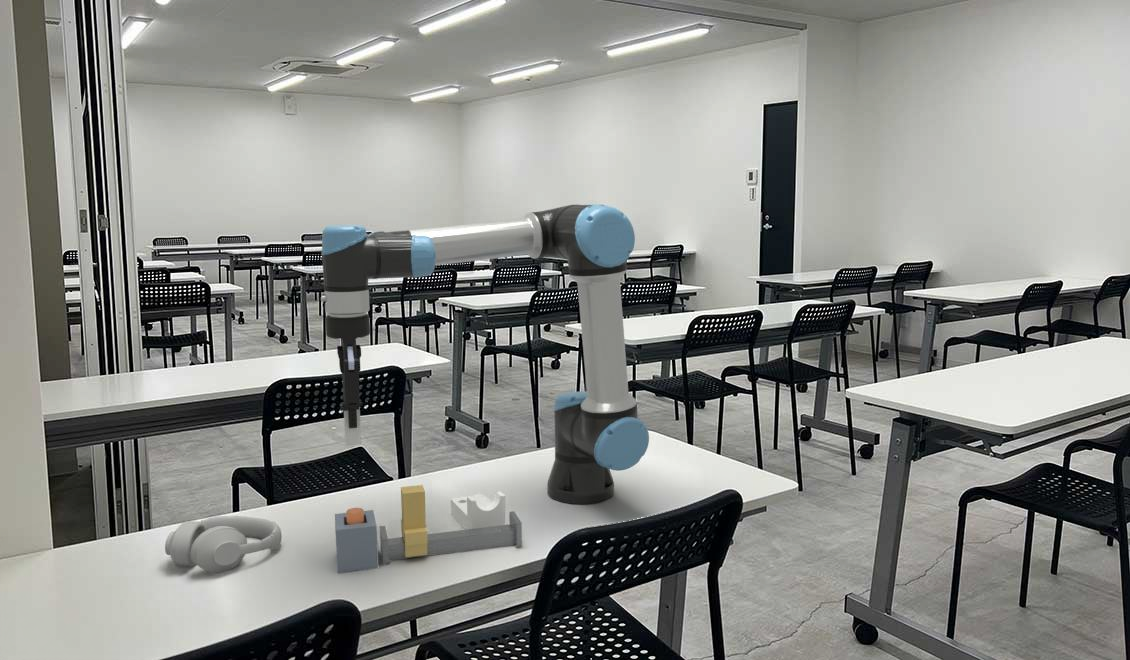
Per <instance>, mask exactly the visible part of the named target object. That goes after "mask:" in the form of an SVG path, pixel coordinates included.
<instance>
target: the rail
mask: <svg viewBox="0 0 1130 660" xmlns="http://www.w3.org/2000/svg"><path fill="white" fill-rule="evenodd" d="M508 512H509V513H508V514H509V515H508V516H509V520H508V521H509V523H508V524H505V525H500V526H492V527H483V528H475V529H459V530H451V531H443V532H433V533H427V542H428V543H427V555H421V556H413V557H405V542H404V539H403V537H402V536H401V537H392V538H388V533H387V528H386V526H385V525H382V526H381V525H380V526H379V544H380V545H379V546H380V554H381V560H382V564H383V565H382V566H385V565H389V564H390V561H397V560H405V559H406V560H407V559H411V558H422V557H427V556H436V555H438V556H439V555H444V554H454V553H459V552H468V551H476V550H477V551H478V550H484V549H493V548H502V547H508V546H515V548H516V549H519V548H522V547H523V543H522V542H523V532H522V531H523V529H522V525H523V523H522V521H521V519H520V518H519V516H518V515H517V513H516V512H515V511H514V510H513V511H512V510H511V511H508Z"/></svg>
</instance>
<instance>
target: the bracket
mask: <svg viewBox="0 0 1130 660" xmlns="http://www.w3.org/2000/svg"><path fill="white" fill-rule="evenodd" d="M450 514H451V515H452V516H453V518H454V519H455V520H456V521H457V522H458V523H459V524H460V525H461V526H462V527H463V528H464V530H466V529H475V528H483V527H492V526H500V525H506V495H505V494H504V493H503V492H502V491H496V492H495V496H494V498H493V500H492V501H491V500H490V499H489V498H488V497H487V496H485V495H484V494H483V493H479V494H474V495H469V496H467V495H466V496H463V497H461V496H460V497H455V498H451V499H450Z"/></svg>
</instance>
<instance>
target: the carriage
mask: <svg viewBox="0 0 1130 660" xmlns="http://www.w3.org/2000/svg"><path fill="white" fill-rule="evenodd" d="M400 501H401V503H400V504H401V509H400V510H401V519H400V527H401V528H400V529H401V530H400V531H401V537H403V539H404V542H405V557H413V556H421V555H427V543H428V542H427V534H428V529H427V524H426V523H427V520H426V519H427V517H426V515H427V513H426V491H425V488H424V486H423V484H419V485H409V486H401V487H400Z"/></svg>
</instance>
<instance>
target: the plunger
mask: <svg viewBox="0 0 1130 660" xmlns="http://www.w3.org/2000/svg"><path fill="white" fill-rule="evenodd" d="M363 511H364V509H363V508H362V507H351V508H349V509H347V510H346V512H345V513H346V514H347V525H351V524H360V523H364V514H363Z"/></svg>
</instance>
